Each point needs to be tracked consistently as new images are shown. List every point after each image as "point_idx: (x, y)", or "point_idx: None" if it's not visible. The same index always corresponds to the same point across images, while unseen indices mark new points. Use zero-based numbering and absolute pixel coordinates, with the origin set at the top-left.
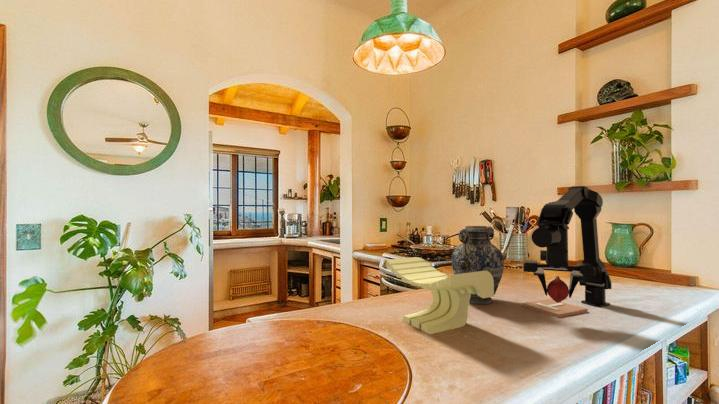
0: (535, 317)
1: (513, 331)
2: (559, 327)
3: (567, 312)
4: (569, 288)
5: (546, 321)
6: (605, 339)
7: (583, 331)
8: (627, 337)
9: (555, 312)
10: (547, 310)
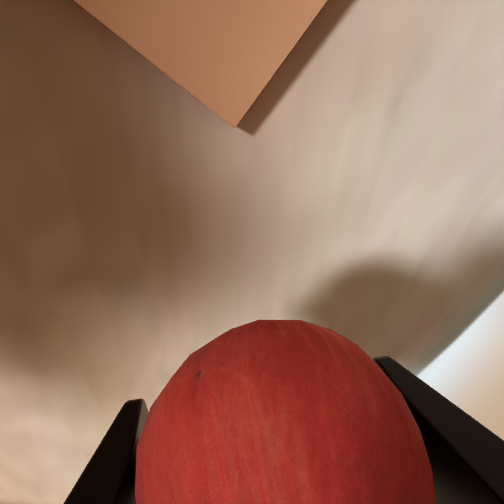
0: (73, 208)
1: (54, 455)
2: (234, 321)
3: (317, 7)
4: (437, 471)
5: (160, 259)
6: (394, 359)
7: (336, 317)
8: (492, 298)
9: (210, 70)
10: (130, 25)
